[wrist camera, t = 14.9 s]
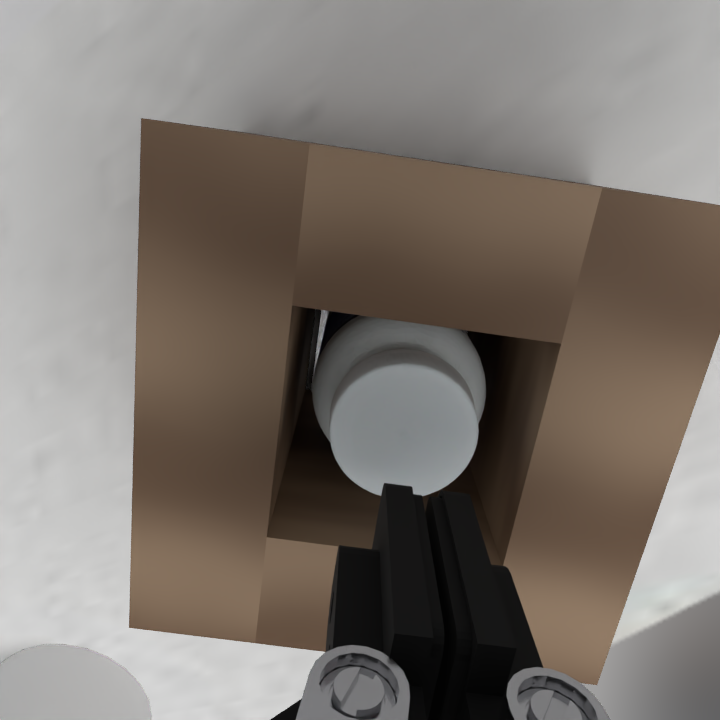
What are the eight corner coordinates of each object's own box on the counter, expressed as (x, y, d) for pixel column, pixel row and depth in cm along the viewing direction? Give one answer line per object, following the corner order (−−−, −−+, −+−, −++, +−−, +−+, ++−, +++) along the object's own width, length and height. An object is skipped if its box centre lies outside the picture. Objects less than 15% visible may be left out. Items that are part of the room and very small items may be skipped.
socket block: (240, 132, 24) (141, 118, 13) (593, 185, 24) (762, 211, 14) (217, 451, 28) (129, 627, 18) (514, 491, 29) (596, 684, 18)
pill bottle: (312, 374, 26) (281, 498, 17) (343, 252, 24) (328, 314, 15) (434, 405, 26) (469, 542, 17) (473, 286, 25) (536, 368, 15)
